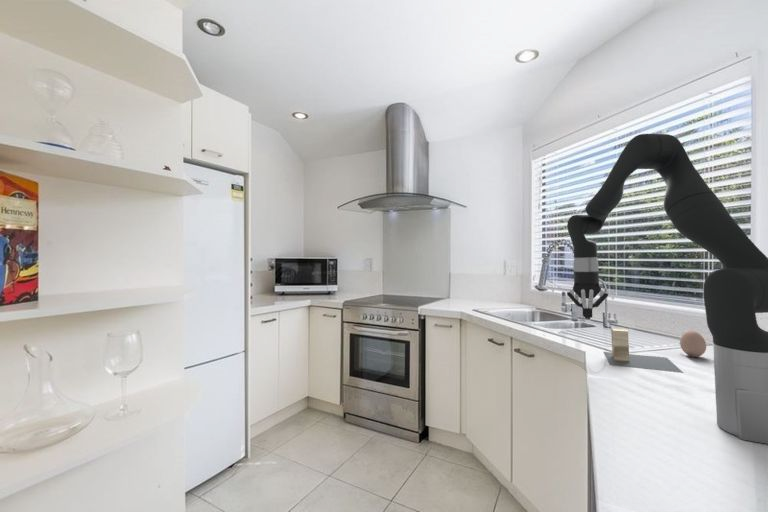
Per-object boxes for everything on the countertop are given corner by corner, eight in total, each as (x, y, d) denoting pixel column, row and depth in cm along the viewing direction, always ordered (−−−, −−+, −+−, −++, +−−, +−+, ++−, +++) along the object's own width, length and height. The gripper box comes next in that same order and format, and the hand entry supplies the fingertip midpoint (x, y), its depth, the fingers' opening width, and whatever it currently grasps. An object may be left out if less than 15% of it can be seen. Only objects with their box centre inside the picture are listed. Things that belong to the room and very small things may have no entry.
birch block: (629, 362, 104) (628, 331, 104) (614, 360, 106) (613, 330, 106) (626, 357, 109) (625, 328, 109) (612, 356, 111) (611, 327, 111)
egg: (712, 359, 106) (710, 332, 107) (688, 359, 108) (687, 332, 108) (697, 354, 113) (696, 328, 113) (675, 353, 114) (674, 328, 114)
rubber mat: (683, 375, 94) (683, 372, 94) (610, 367, 102) (609, 364, 102) (667, 359, 108) (666, 357, 108) (603, 353, 116) (603, 351, 116)
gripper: (564, 270, 112) (566, 319, 112) (610, 270, 106) (612, 321, 106) (564, 269, 119) (566, 315, 119) (606, 269, 112) (608, 317, 112)
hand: (587, 318), depth 112 cm, fingers closed
